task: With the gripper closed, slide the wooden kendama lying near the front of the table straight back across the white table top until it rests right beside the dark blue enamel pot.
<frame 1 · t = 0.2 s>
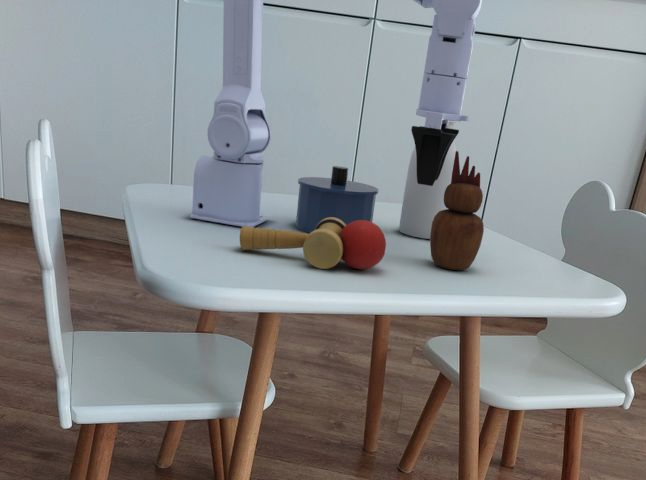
hand: (427, 181, 94), 10 cm above the table, tool pointing down, fingers open, 7 cm apart
pot lid: (338, 187, 103), point 6 cm above the table, touching pot
pot: (333, 230, 105), on the table
wooden figurine: (450, 268, 92), on the table
milk bottle: (421, 235, 112), on the table
kendama: (310, 262, 85), on the table
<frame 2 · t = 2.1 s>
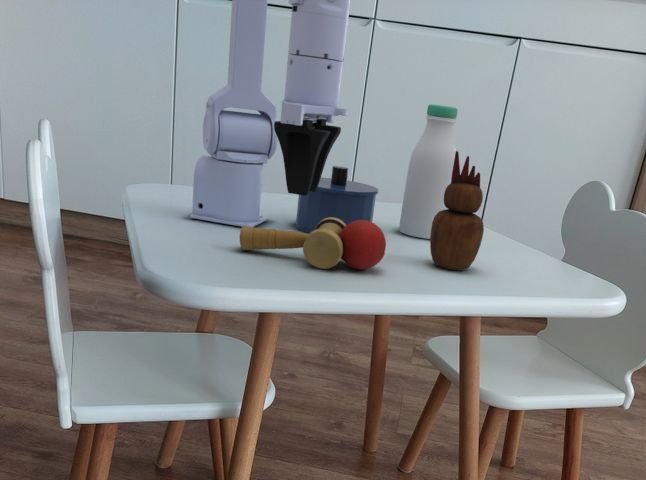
hand: (302, 192, 75), 9 cm above the table, tool pointing down, fingers open, 3 cm apart
nothing on the table moved.
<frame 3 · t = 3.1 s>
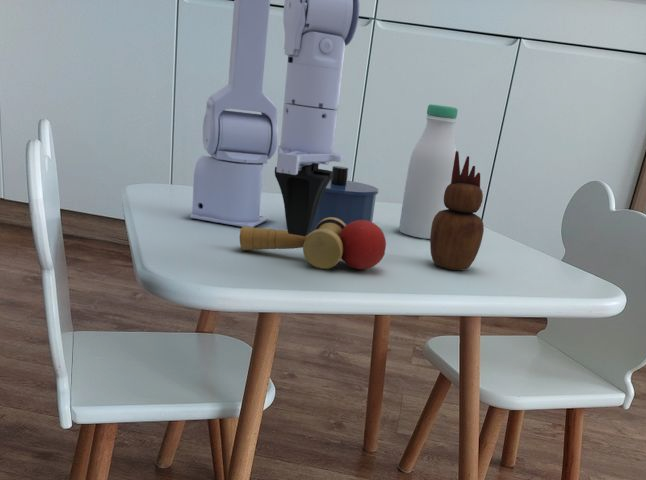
hand: (298, 234, 77), 5 cm above the table, tool pointing down, fingers closed
nothing on the table moved.
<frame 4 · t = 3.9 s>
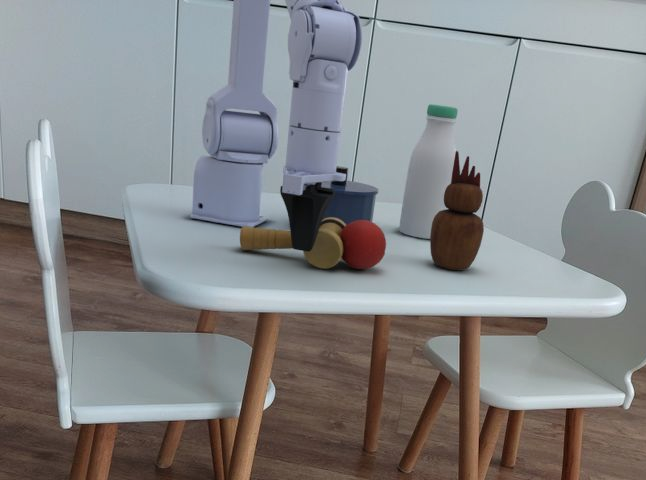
hand: (302, 249, 80), 2 cm above the table, tool pointing down, fingers closed
kendama: (310, 262, 85), on the table, touching gripper
everything else where it was.
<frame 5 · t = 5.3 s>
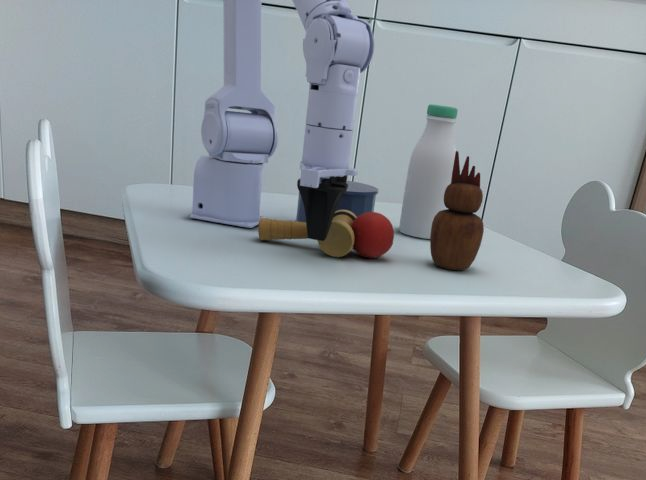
hand: (316, 239, 87), 2 cm above the table, tool pointing down, fingers closed
kendama: (323, 251, 92), on the table, touching gripper
everything else where it was.
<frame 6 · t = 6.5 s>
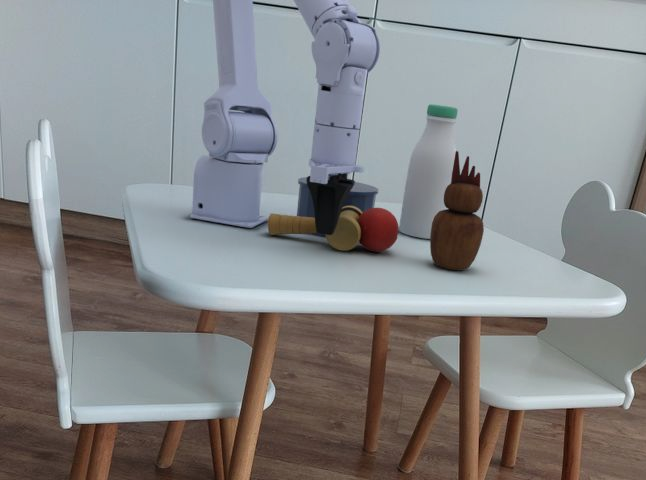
hand: (324, 233, 90), 2 cm above the table, tool pointing down, fingers closed
kendama: (330, 246, 96), on the table, touching gripper
everything else where it was.
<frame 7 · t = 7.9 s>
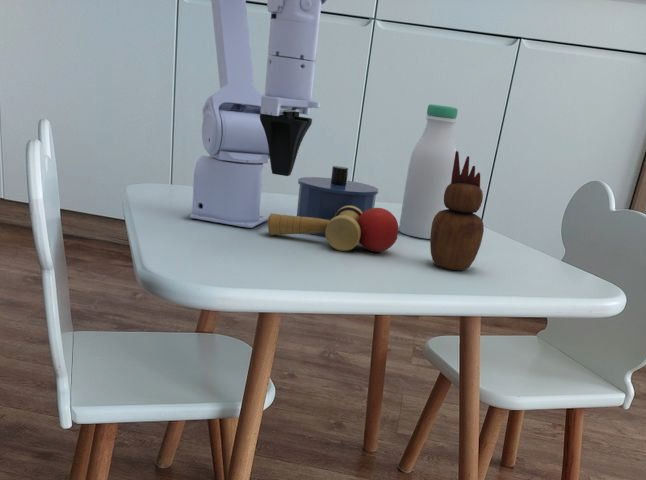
hand: (281, 174, 86), 9 cm above the table, tool pointing down, fingers closed
kendama: (330, 246, 96), on the table
everything else where it was.
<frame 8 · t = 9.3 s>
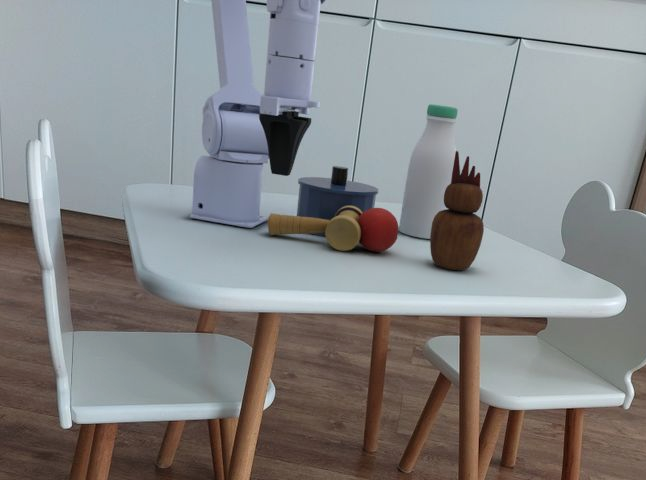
hand: (280, 174, 86), 9 cm above the table, tool pointing down, fingers closed
nothing on the table moved.
at the end: kendama 10.5 cm from the pot (horizontally); kendama moved 11.2 cm from its start; kendama inside the target area (1.2 cm from its centre), on the table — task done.
